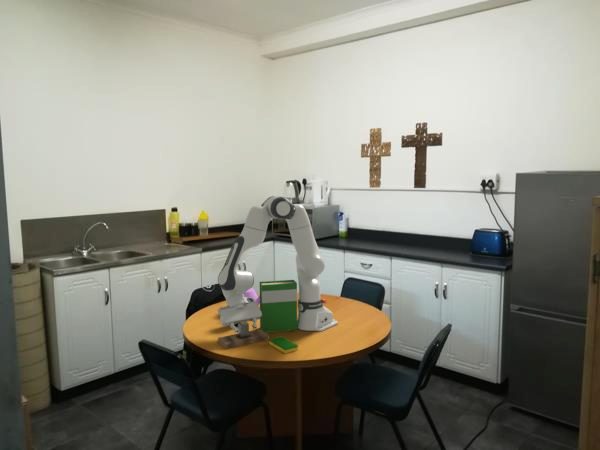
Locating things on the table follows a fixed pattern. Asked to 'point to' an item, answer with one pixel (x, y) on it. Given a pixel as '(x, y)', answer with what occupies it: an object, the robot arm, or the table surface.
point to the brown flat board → (236, 341)
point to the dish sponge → (283, 344)
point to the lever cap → (243, 329)
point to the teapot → (252, 295)
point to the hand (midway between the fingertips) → (246, 330)
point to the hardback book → (278, 305)
